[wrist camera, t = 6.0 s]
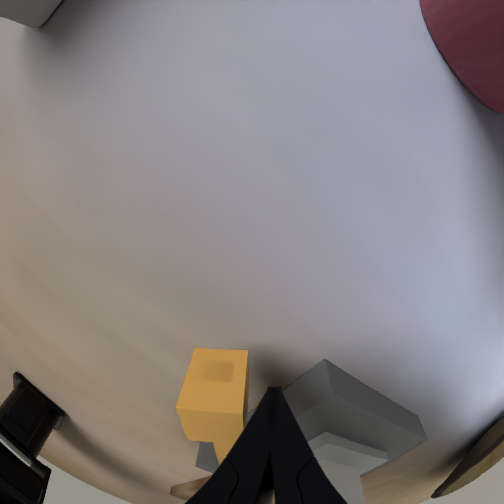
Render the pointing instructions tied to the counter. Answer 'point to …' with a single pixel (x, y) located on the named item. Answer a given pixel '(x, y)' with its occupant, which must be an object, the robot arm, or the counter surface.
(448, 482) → the brown shallow curved piece
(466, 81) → the plant pot
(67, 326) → the counter surface
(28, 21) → the electrical switch
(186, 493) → the walnut board
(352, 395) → the socket block
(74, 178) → the counter surface
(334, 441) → the plug
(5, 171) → the counter surface
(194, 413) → the ball-topped lever
